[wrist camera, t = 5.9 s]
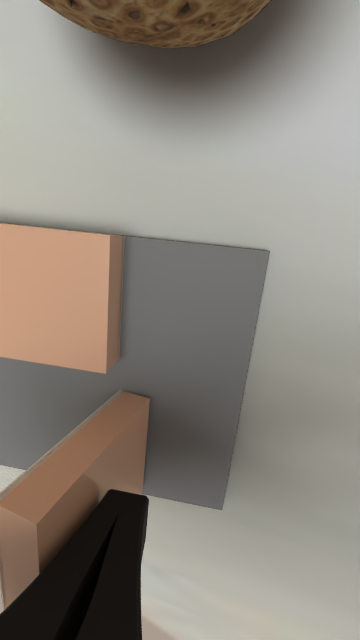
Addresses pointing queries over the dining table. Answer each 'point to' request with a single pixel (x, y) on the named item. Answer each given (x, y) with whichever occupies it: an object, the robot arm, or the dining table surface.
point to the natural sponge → (160, 19)
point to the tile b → (69, 488)
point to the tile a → (60, 296)
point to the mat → (156, 368)
